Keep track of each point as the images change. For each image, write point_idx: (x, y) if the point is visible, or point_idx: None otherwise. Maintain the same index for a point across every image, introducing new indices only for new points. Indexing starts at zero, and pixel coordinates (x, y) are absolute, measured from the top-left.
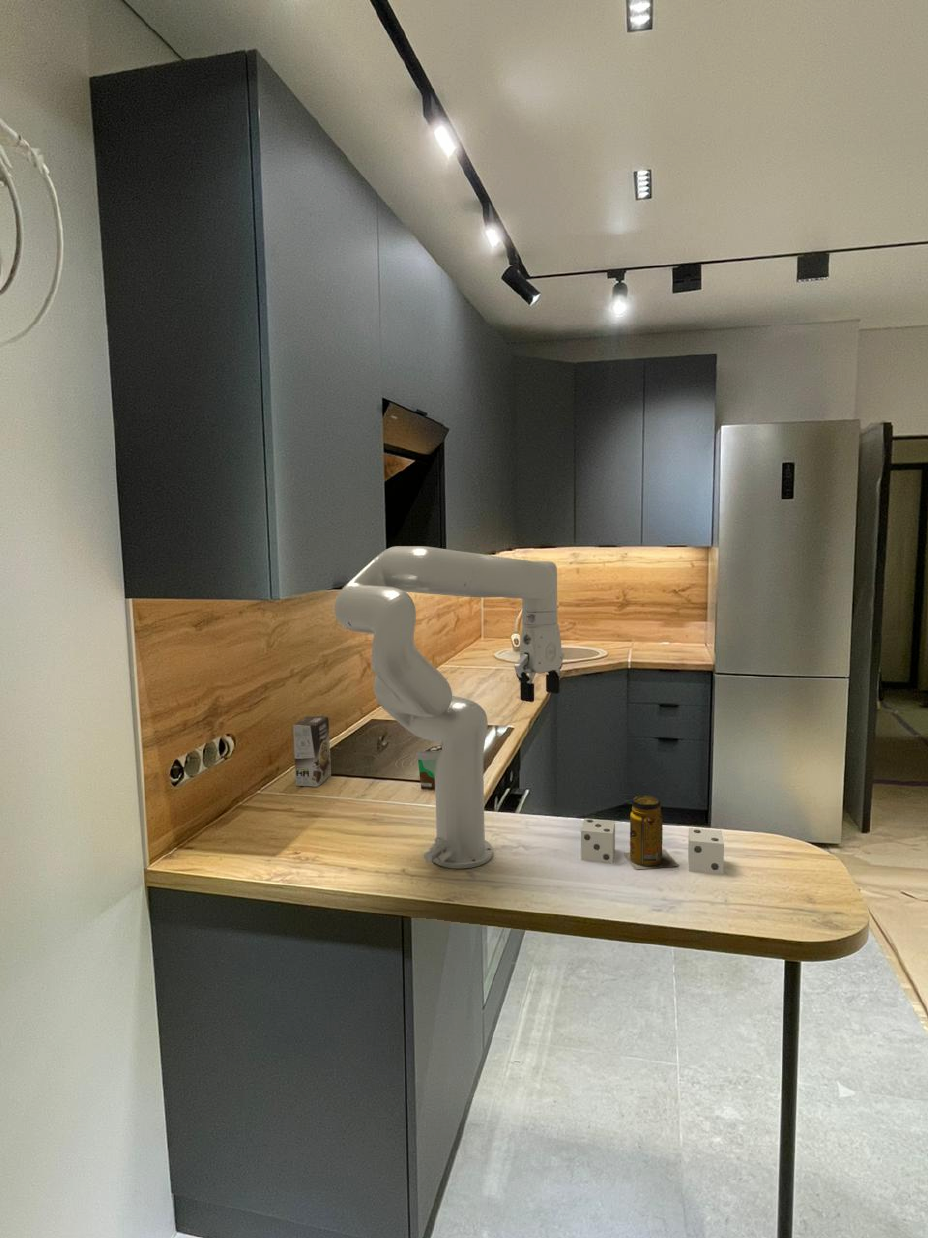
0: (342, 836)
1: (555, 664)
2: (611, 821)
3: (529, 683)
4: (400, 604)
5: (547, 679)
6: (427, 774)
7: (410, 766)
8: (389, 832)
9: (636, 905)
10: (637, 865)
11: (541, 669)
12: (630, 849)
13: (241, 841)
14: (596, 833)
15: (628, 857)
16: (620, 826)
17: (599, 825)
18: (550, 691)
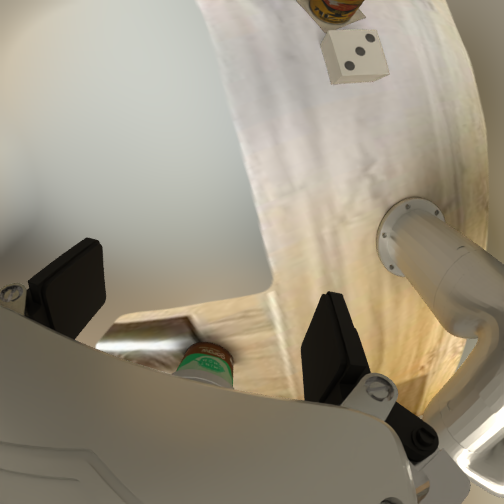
0: (387, 362)
1: (24, 364)
2: (333, 34)
3: (388, 378)
4: None
5: (72, 331)
6: (231, 373)
7: None
8: (371, 335)
9: (434, 22)
10: (354, 15)
11: (350, 439)
12: (345, 18)
13: (403, 403)
14: (382, 52)
15: (336, 26)
16: (232, 57)
17: (359, 49)
18: (102, 281)
